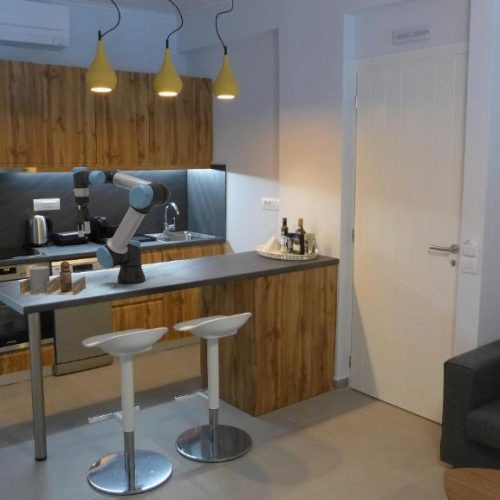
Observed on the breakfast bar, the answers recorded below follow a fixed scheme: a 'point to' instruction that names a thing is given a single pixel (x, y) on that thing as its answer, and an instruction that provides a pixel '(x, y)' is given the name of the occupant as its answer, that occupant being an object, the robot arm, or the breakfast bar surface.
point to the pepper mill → (65, 277)
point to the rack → (53, 287)
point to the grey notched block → (39, 279)
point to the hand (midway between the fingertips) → (84, 235)
